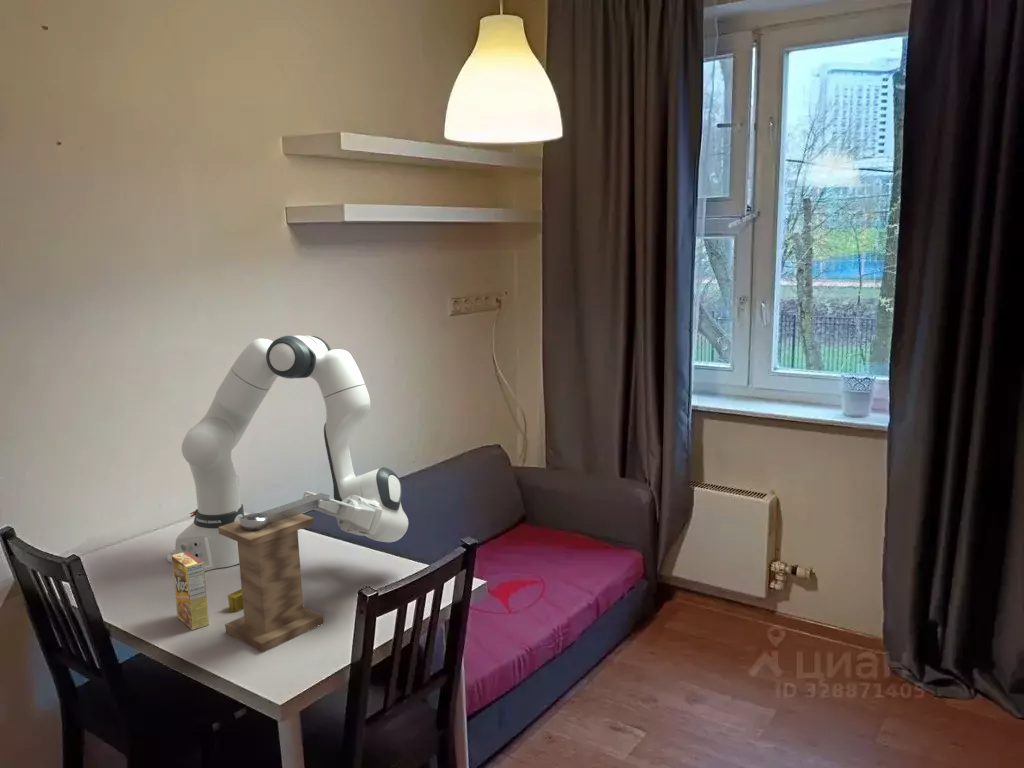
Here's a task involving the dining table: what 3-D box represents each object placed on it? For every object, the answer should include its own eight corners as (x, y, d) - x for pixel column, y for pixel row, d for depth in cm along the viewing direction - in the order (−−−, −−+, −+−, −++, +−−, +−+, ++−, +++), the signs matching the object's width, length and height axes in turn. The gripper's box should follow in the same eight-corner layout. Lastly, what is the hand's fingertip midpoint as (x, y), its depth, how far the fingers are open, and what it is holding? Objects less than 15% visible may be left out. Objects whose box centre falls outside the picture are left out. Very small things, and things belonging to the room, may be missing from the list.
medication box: (269, 591, 206) (268, 576, 205) (277, 594, 204) (276, 578, 204) (228, 610, 196) (226, 594, 196) (235, 613, 195) (234, 597, 194)
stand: (286, 606, 197) (278, 505, 192) (323, 623, 189) (316, 518, 184) (226, 632, 185) (215, 526, 180) (262, 652, 177) (252, 541, 172)
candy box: (176, 617, 193) (169, 555, 190) (194, 611, 196) (188, 550, 193) (192, 631, 186) (185, 566, 183) (210, 624, 189) (204, 561, 186)
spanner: (318, 499, 196) (317, 491, 195) (333, 504, 192) (332, 496, 192) (235, 527, 179) (234, 518, 179) (250, 533, 176) (249, 523, 175)
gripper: (332, 493, 208) (289, 479, 198) (387, 510, 195) (344, 496, 185) (323, 517, 207) (280, 504, 197) (378, 537, 194) (335, 523, 184)
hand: (312, 500), depth 191 cm, fingers closed on spanner, 3 cm apart
